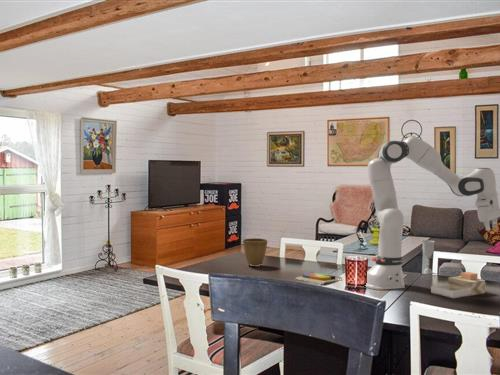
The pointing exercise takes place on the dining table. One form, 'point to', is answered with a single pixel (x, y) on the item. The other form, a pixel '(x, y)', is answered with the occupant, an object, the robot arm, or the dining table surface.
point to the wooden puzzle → (319, 278)
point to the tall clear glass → (428, 253)
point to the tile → (469, 275)
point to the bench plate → (467, 285)
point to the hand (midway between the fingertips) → (491, 228)
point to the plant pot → (255, 250)
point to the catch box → (449, 291)
